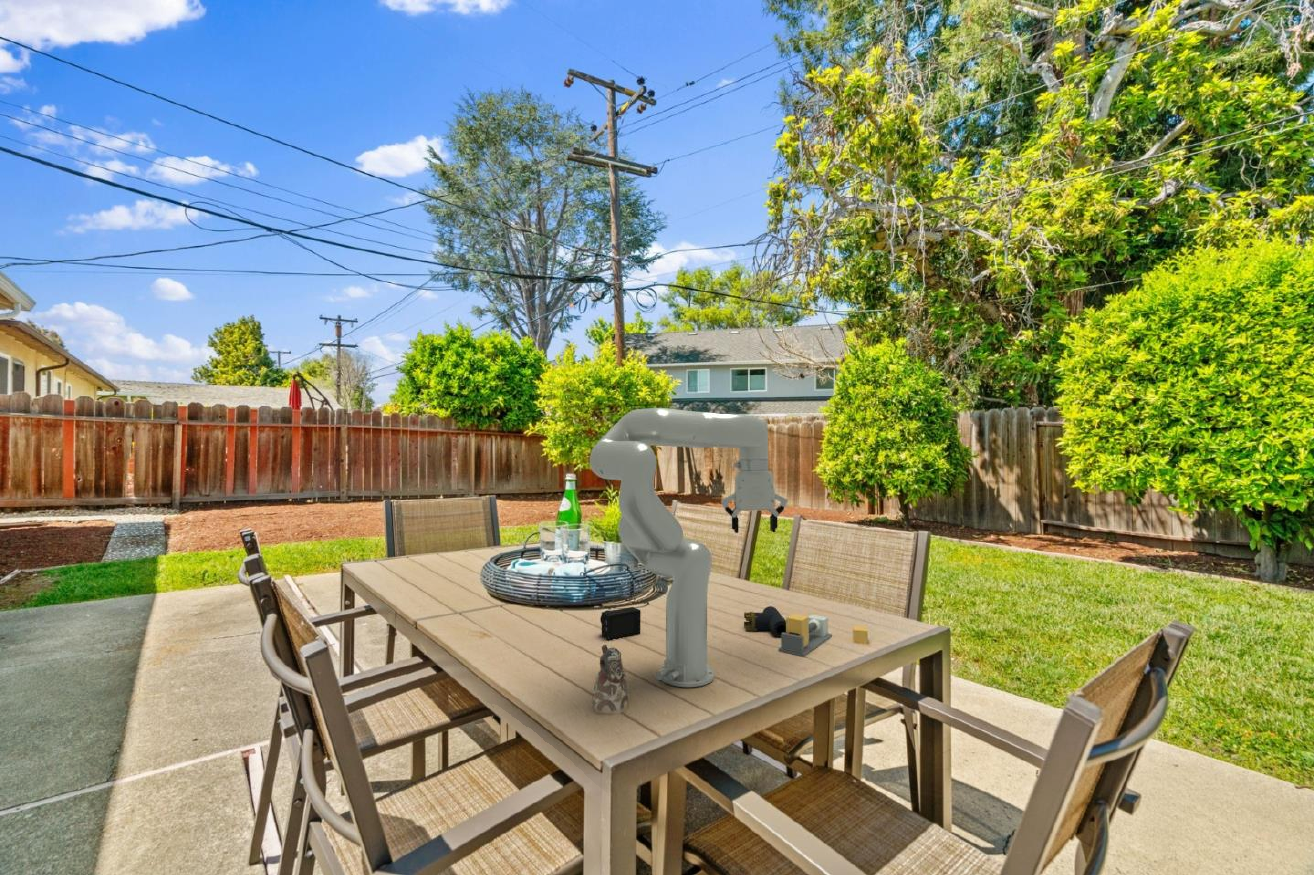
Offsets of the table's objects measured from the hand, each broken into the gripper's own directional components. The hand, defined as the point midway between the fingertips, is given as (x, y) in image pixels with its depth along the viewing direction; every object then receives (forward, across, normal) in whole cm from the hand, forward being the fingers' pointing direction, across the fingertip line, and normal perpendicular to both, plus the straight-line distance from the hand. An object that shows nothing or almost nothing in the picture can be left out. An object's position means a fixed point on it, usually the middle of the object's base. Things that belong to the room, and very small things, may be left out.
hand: (754, 531), depth 152 cm
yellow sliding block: (+30, +11, +1) cm, 32 cm away
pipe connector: (+32, +6, +18) cm, 37 cm away
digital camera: (+31, -36, +13) cm, 49 cm away
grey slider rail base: (+31, +15, +5) cm, 35 cm away
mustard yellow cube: (+32, +30, +7) cm, 44 cm away
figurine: (+30, -36, -32) cm, 57 cm away
